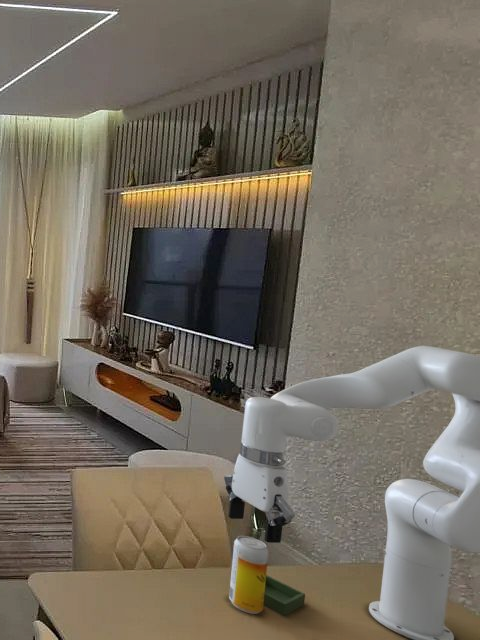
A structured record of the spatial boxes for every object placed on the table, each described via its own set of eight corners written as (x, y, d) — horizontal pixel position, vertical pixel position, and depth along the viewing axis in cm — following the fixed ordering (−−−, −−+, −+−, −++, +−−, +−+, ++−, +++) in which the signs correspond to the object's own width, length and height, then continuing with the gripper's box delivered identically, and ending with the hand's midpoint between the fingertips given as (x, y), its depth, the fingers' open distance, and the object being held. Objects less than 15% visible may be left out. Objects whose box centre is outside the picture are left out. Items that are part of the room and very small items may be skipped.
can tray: (259, 582, 129) (260, 572, 129) (304, 604, 121) (305, 593, 121) (239, 591, 125) (240, 581, 125) (284, 615, 117) (285, 604, 117)
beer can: (268, 617, 117) (275, 551, 116) (237, 612, 118) (243, 547, 117) (253, 599, 122) (259, 536, 121) (223, 595, 124) (229, 532, 123)
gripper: (314, 472, 109) (305, 552, 110) (245, 440, 126) (237, 510, 127) (280, 471, 108) (271, 551, 110) (215, 439, 126) (208, 509, 127)
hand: (253, 529), depth 119 cm, fingers open, 9 cm apart
